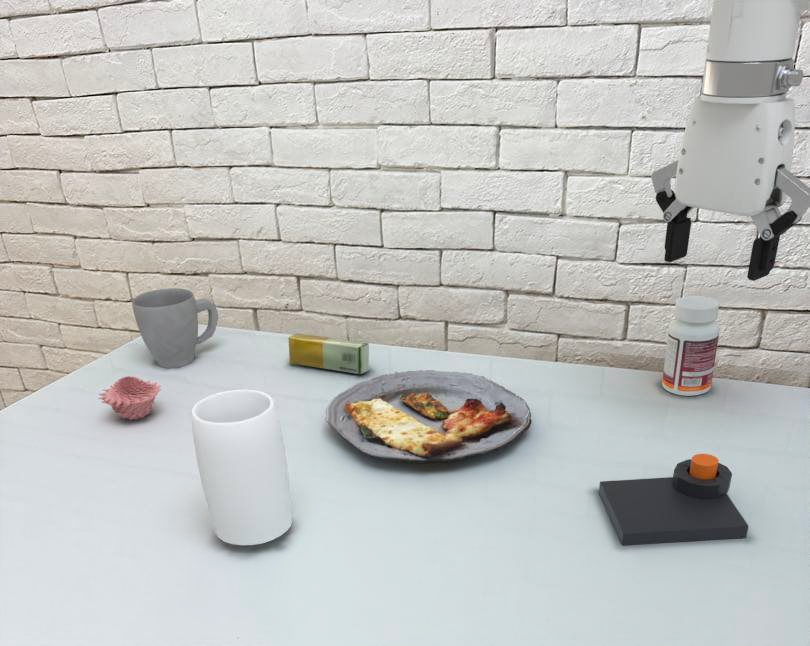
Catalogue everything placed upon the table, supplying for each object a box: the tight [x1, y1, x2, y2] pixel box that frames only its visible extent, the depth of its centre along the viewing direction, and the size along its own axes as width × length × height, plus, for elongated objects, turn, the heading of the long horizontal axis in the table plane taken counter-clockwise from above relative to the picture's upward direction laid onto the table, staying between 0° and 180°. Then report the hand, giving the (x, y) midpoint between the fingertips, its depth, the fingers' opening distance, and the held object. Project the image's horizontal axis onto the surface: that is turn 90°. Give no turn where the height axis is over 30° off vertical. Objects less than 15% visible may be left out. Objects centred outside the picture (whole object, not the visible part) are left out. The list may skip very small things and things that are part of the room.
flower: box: [98, 375, 162, 421], centre depth 110 cm, size 8×8×6 cm
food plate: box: [324, 369, 532, 464], centre depth 104 cm, size 25×23×4 cm
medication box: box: [288, 332, 370, 376], centre depth 121 cm, size 12×3×4 cm, turn 65°
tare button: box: [689, 453, 719, 480], centre depth 87 cm, size 3×3×2 cm
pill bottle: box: [661, 295, 721, 397], centre depth 108 cm, size 6×6×11 cm
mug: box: [131, 287, 219, 369], centre depth 126 cm, size 12×9×10 cm
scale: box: [598, 458, 749, 546], centre depth 86 cm, size 13×11×3 cm
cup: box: [190, 389, 293, 546], centre depth 83 cm, size 8×8×14 cm
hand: (715, 267), depth 88 cm, fingers open, 9 cm apart
